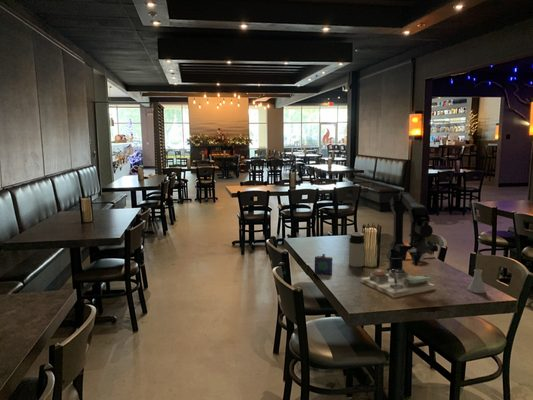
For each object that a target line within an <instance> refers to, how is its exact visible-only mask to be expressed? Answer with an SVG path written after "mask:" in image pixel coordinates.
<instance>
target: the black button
mask: <svg viewBox="0 0 533 400" xmlns="http://www.w3.org/2000/svg"><path fill="white" fill-rule="evenodd" d="M394 270H395V273H403V270H404V269H402V270H400V269H394Z"/></svg>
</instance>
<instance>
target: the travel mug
mask: <svg viewBox="0 0 533 400" xmlns="http://www.w3.org/2000/svg"><path fill="white" fill-rule="evenodd" d="M349 234H350V238H349V240H348V241H349V244H348V245H349V249H348V250H349V251H348V265H349V266H350V267H353V268H361V267H363V266H364V260H365V259H364V257H365V256H364V255H365V238H364V236H365V234H364V232H359V231H358V232H355V231H354V232H350V233H349Z"/></svg>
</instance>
